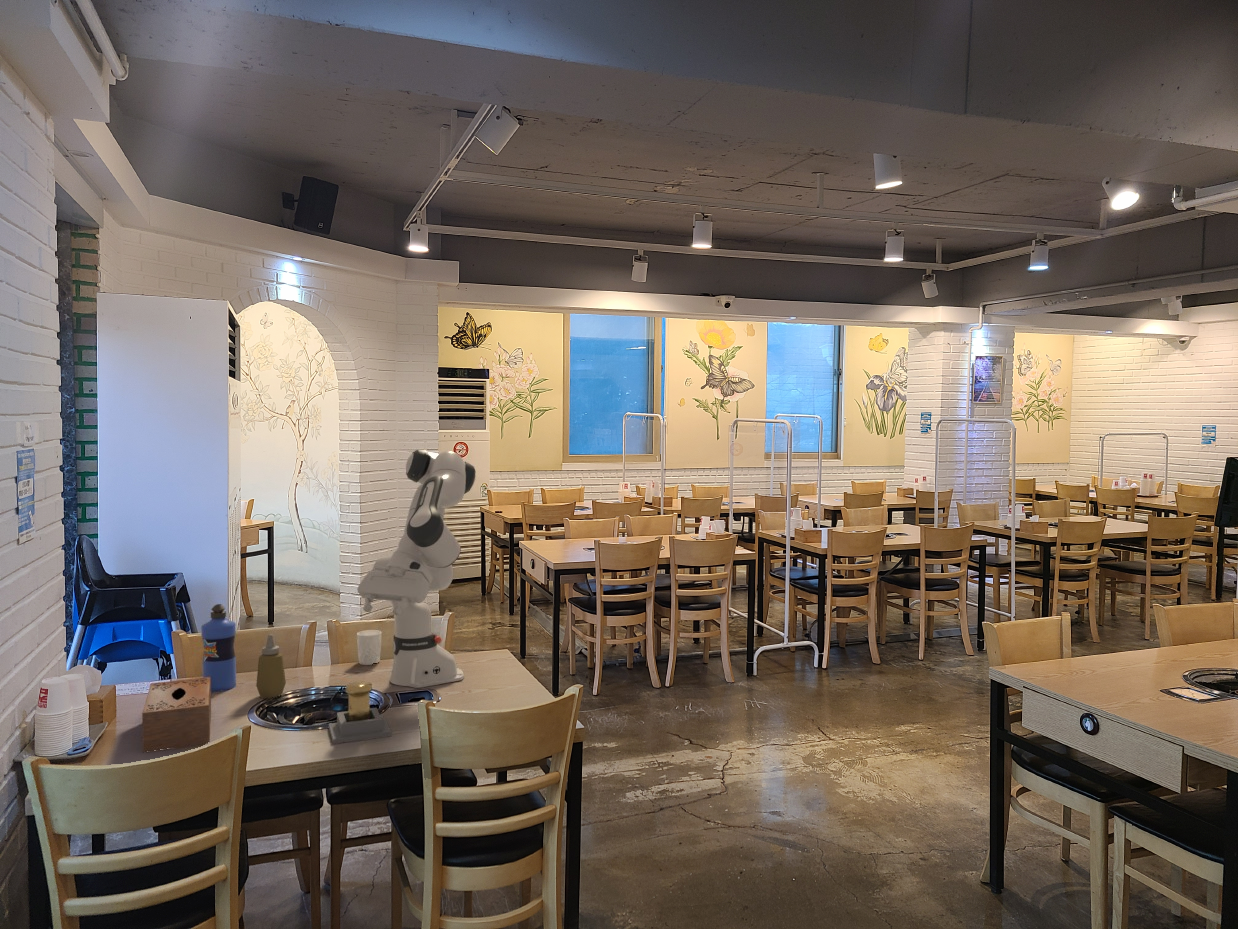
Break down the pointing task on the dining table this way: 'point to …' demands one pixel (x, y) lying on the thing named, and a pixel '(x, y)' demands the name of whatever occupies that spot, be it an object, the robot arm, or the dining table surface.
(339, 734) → the socket block
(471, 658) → the dining table surface
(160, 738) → the tissue box cover
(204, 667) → the water bottle
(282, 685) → the squeeze bottle
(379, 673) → the dining table surface
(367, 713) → the gold stepped cylinder
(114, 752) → the dining table surface
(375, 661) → the white cup
